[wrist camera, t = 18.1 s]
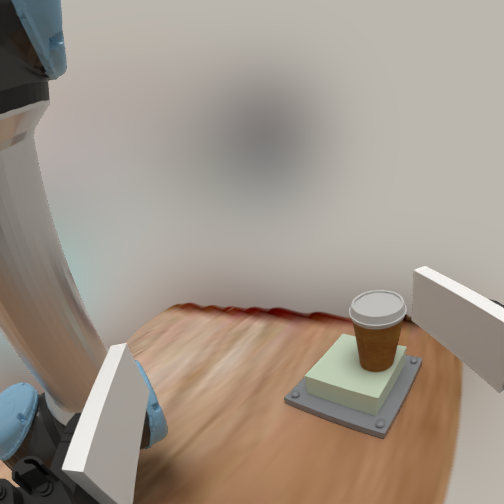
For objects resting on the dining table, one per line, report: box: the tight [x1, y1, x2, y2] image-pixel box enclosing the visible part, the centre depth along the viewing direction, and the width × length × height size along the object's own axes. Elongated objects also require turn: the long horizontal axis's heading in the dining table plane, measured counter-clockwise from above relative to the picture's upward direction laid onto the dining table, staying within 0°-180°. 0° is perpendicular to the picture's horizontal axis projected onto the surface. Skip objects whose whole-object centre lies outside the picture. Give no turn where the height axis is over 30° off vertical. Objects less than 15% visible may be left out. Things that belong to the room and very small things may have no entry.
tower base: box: [284, 334, 422, 439], centre depth 48 cm, size 20×20×6 cm
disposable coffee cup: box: [349, 290, 407, 372], centre depth 45 cm, size 10×10×12 cm
